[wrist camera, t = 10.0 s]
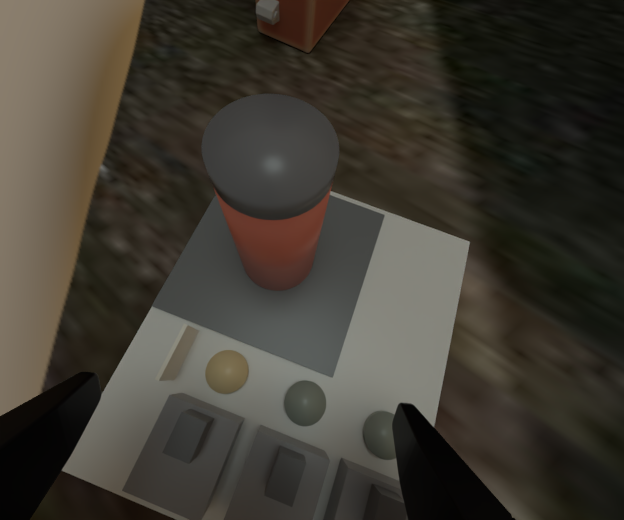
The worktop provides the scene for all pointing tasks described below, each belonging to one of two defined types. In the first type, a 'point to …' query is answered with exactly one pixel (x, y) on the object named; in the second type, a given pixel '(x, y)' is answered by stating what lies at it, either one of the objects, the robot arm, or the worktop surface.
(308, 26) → the control panel
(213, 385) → the breaker board
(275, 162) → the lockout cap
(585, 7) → the worktop surface
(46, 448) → the robot arm
